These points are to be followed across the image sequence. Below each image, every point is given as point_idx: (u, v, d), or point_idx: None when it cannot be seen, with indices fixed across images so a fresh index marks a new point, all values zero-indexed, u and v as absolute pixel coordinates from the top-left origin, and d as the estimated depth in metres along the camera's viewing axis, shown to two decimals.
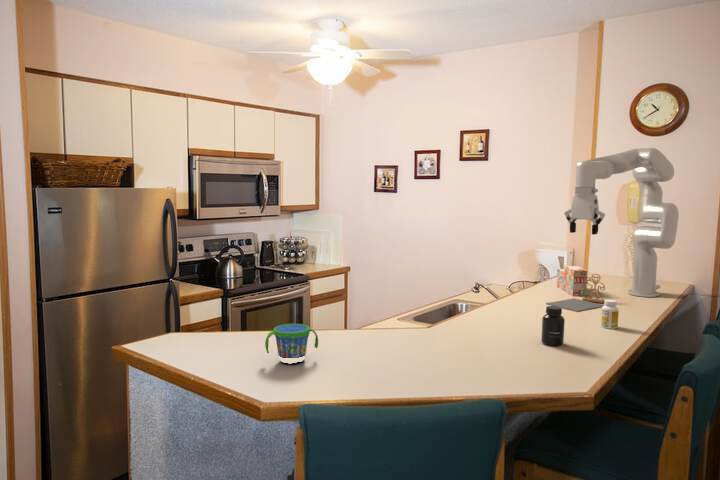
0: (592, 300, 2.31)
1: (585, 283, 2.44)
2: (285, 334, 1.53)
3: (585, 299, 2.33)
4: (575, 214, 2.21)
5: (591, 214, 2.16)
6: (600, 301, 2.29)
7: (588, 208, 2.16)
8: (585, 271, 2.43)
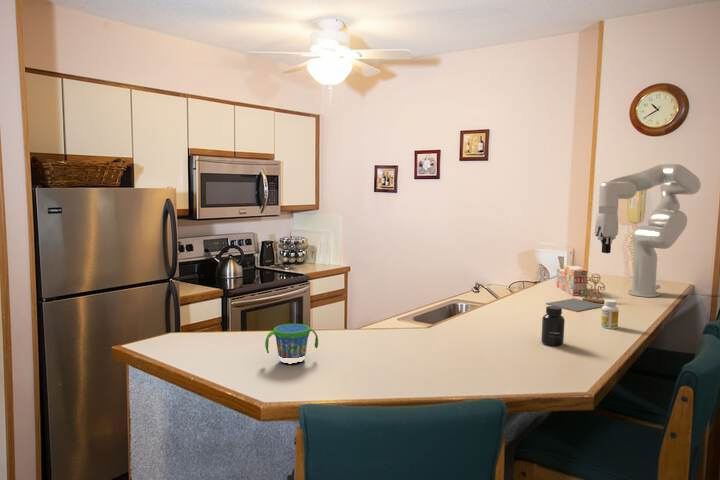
0: (592, 300, 2.31)
1: (585, 283, 2.44)
2: (285, 334, 1.53)
3: (585, 299, 2.33)
4: (607, 232, 2.29)
5: (617, 231, 2.33)
6: (600, 301, 2.29)
7: (616, 226, 2.32)
8: (585, 271, 2.43)
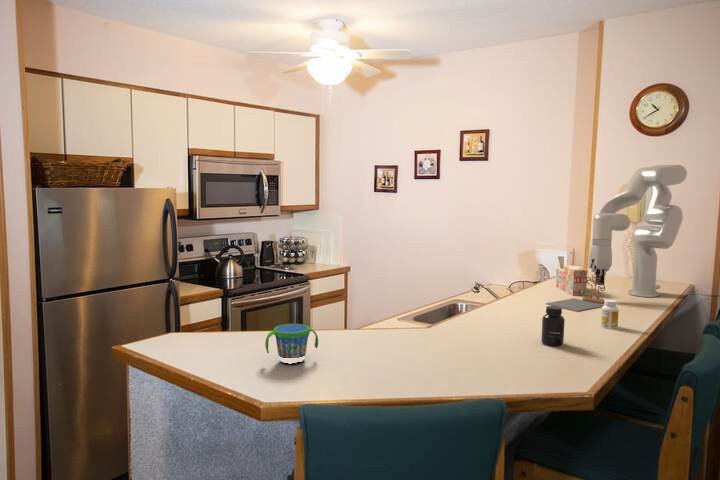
0: (592, 300, 2.31)
1: (585, 283, 2.44)
2: (285, 334, 1.53)
3: (585, 299, 2.33)
4: (601, 265, 2.29)
5: (610, 263, 2.33)
6: (600, 302, 2.29)
7: (610, 258, 2.32)
8: (585, 271, 2.44)
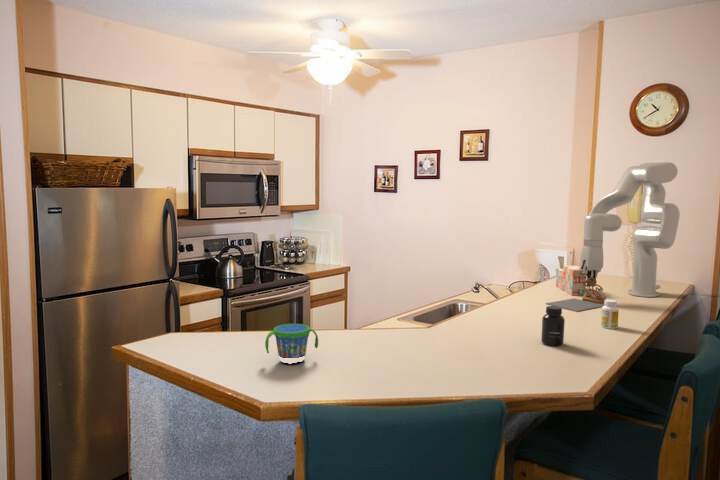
0: (592, 301, 2.31)
1: None
2: (285, 334, 1.53)
3: (585, 299, 2.33)
4: (592, 266, 2.27)
5: (602, 264, 2.30)
6: (600, 302, 2.29)
7: (601, 259, 2.29)
8: None
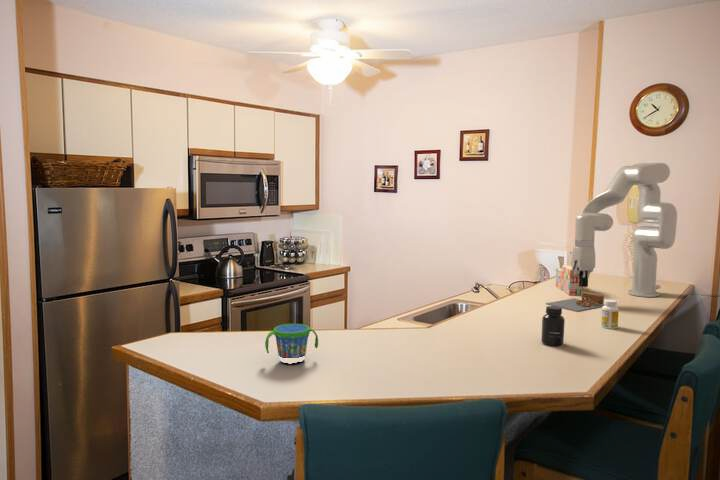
0: None
1: None
2: (285, 334, 1.53)
3: (585, 300, 2.33)
4: (584, 266, 2.24)
5: (594, 264, 2.27)
6: None
7: (593, 259, 2.26)
8: None
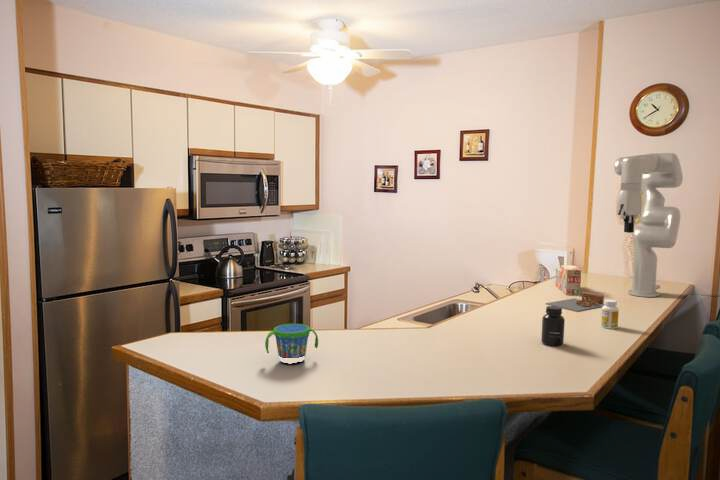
0: None
1: (579, 282, 2.45)
2: (285, 334, 1.53)
3: (585, 300, 2.33)
4: (630, 210, 2.17)
5: (640, 209, 2.20)
6: None
7: (640, 203, 2.19)
8: (579, 270, 2.44)
